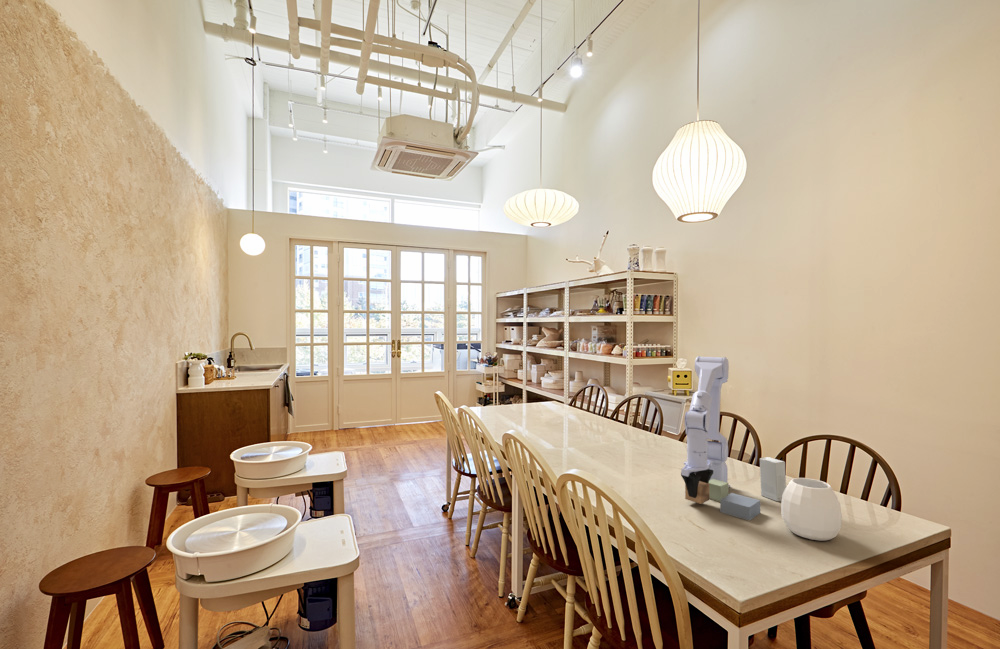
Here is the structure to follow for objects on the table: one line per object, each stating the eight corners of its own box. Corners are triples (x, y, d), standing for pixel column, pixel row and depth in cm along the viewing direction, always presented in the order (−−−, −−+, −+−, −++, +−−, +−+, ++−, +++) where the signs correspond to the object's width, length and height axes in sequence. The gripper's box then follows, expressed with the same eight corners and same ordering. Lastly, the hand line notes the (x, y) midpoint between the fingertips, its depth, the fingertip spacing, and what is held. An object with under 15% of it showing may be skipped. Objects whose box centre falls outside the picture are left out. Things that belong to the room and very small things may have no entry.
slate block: (731, 506, 141) (731, 492, 141) (760, 514, 135) (760, 500, 135) (720, 513, 136) (720, 499, 136) (749, 521, 130) (749, 507, 130)
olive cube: (713, 494, 151) (713, 478, 151) (728, 498, 147) (728, 482, 147) (705, 497, 148) (705, 482, 148) (720, 502, 144) (720, 486, 144)
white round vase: (844, 551, 112) (844, 495, 112) (780, 537, 119) (780, 485, 119) (839, 530, 124) (839, 480, 124) (781, 519, 131) (781, 471, 131)
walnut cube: (693, 495, 145) (693, 479, 145) (709, 499, 141) (709, 483, 141) (685, 499, 142) (685, 482, 142) (700, 503, 138) (700, 487, 138)
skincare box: (787, 500, 145) (786, 461, 145) (776, 502, 144) (776, 463, 144) (769, 493, 151) (769, 456, 151) (759, 495, 149) (759, 457, 149)
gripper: (697, 443, 150) (697, 485, 150) (672, 451, 141) (672, 496, 141) (718, 448, 144) (718, 492, 144) (694, 456, 135) (694, 503, 135)
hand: (697, 494), depth 142 cm, fingers closed on walnut cube, 5 cm apart
